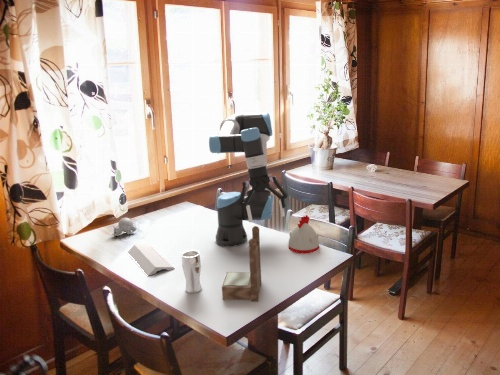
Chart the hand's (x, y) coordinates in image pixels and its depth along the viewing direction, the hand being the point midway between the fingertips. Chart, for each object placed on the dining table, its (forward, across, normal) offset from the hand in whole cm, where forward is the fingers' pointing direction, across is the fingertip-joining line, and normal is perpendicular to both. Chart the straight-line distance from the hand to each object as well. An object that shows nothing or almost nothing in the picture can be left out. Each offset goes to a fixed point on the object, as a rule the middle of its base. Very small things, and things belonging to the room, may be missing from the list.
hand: (267, 218), depth 189 cm
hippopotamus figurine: (+2, -83, +31) cm, 89 cm away
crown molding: (+12, -57, +4) cm, 59 cm away
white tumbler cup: (+20, -30, -18) cm, 40 cm away
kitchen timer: (+20, +8, +28) cm, 35 cm away
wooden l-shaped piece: (+23, -11, -16) cm, 31 cm away
